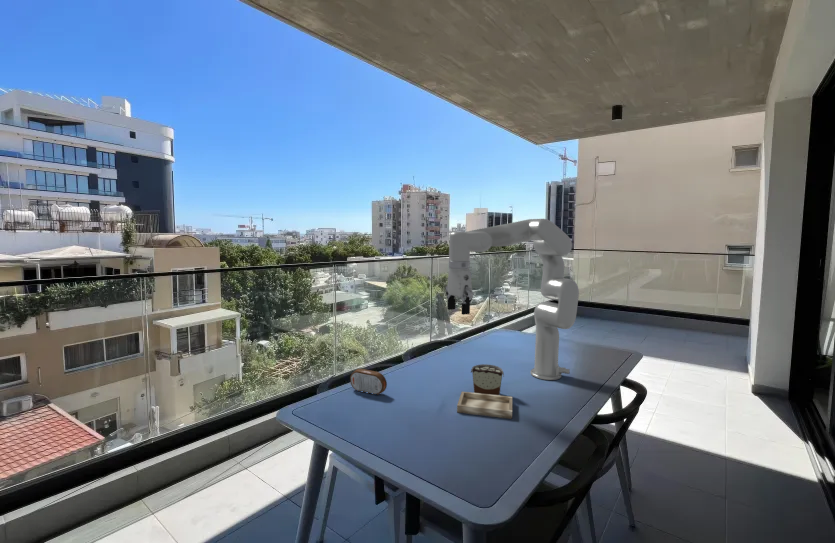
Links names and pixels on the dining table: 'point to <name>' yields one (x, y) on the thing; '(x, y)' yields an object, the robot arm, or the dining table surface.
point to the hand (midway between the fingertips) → (458, 311)
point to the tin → (368, 381)
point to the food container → (487, 379)
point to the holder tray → (485, 405)
